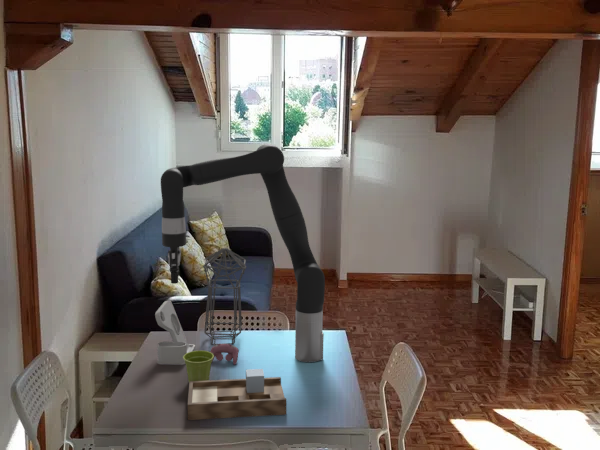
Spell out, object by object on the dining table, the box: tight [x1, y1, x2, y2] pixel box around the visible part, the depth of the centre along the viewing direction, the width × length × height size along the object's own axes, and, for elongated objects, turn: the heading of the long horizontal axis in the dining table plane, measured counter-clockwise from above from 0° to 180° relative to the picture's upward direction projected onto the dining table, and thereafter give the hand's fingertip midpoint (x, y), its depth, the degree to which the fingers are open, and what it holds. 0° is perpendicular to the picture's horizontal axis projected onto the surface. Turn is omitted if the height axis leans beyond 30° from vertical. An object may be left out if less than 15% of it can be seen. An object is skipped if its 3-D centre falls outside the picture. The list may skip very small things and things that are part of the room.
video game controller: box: [209, 343, 240, 366], centre depth 206 cm, size 10×5×7 cm, turn 84°
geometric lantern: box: [202, 247, 247, 346], centre depth 223 cm, size 16×16×35 cm
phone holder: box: [154, 299, 196, 366], centre depth 210 cm, size 17×10×18 cm, turn 179°
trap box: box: [187, 376, 287, 421], centre depth 175 cm, size 27×15×4 cm, turn 98°
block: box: [245, 368, 265, 393], centre depth 178 cm, size 5×5×5 cm
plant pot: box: [183, 350, 215, 383], centre depth 189 cm, size 9×9×9 cm
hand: (175, 279), depth 199 cm, fingers open, 8 cm apart
